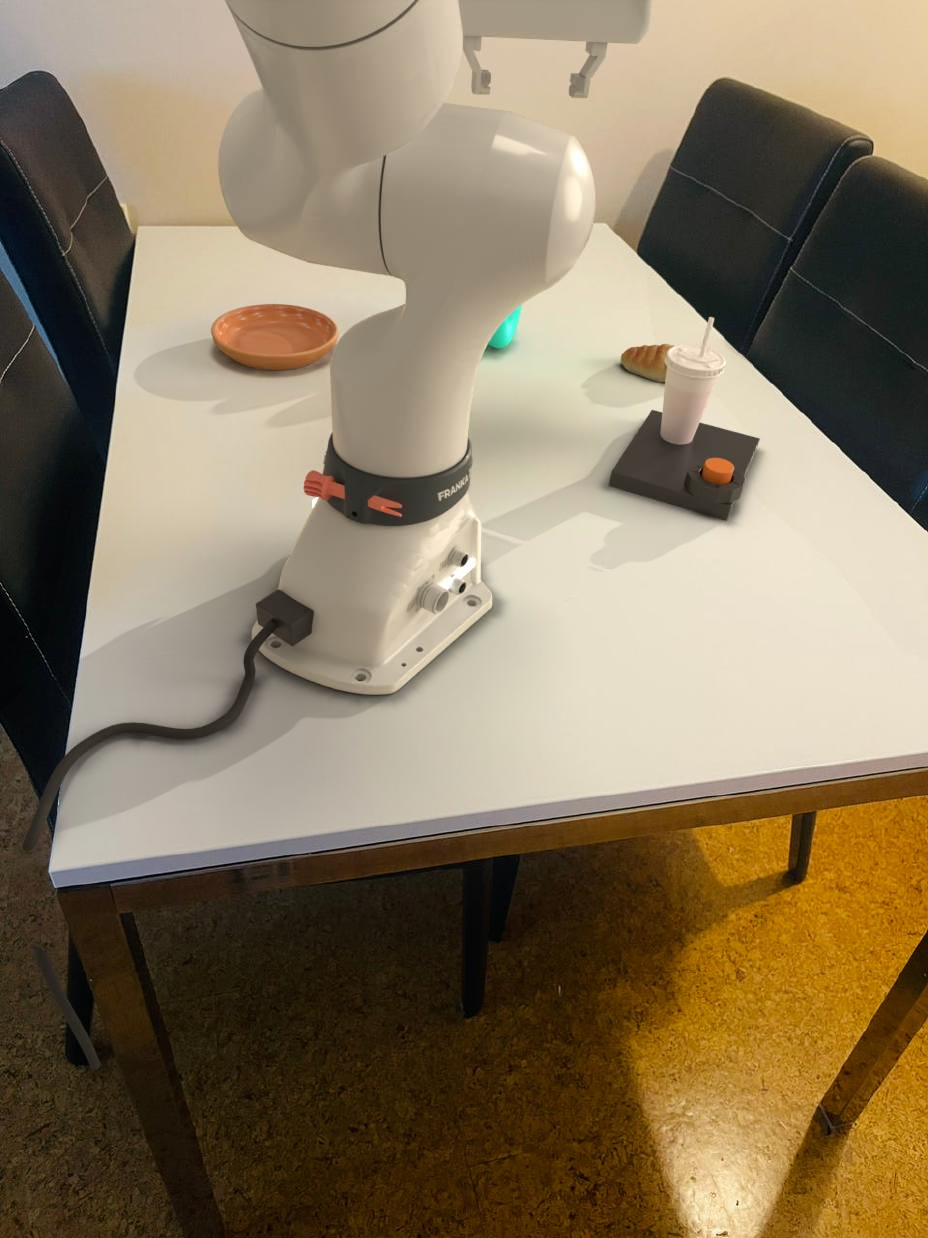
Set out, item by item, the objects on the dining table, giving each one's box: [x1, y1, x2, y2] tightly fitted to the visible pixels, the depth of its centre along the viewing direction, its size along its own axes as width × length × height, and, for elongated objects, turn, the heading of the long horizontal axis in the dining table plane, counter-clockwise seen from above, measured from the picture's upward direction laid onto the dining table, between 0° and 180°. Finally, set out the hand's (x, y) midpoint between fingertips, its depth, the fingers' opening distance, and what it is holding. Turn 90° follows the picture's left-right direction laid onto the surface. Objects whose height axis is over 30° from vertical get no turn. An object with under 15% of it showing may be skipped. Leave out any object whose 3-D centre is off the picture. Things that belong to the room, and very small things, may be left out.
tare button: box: [702, 458, 734, 485], centre depth 93 cm, size 3×3×2 cm
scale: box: [608, 409, 761, 521], centre depth 99 cm, size 16×13×4 cm
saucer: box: [210, 303, 339, 371], centre depth 115 cm, size 16×16×3 cm
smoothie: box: [660, 316, 727, 445], centre depth 97 cm, size 6×6×14 cm
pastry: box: [620, 343, 675, 383], centre depth 117 cm, size 9×7×4 cm
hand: (529, 95), depth 83 cm, fingers open, 8 cm apart
